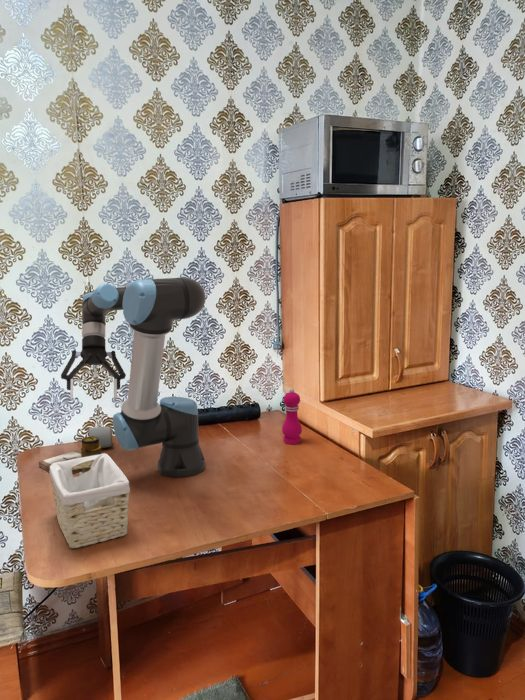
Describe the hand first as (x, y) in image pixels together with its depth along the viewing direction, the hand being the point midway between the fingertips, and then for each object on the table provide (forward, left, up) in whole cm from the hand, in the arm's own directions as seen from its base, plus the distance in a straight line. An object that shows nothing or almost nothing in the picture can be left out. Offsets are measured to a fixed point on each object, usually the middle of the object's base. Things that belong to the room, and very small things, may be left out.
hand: (93, 399), depth 183 cm
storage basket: (-34, +24, -23) cm, 47 cm away
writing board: (+6, +7, -22) cm, 24 cm away
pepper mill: (-36, -58, -23) cm, 71 cm away
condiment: (-7, +6, -23) cm, 24 cm away
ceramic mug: (+15, -10, -23) cm, 29 cm away
